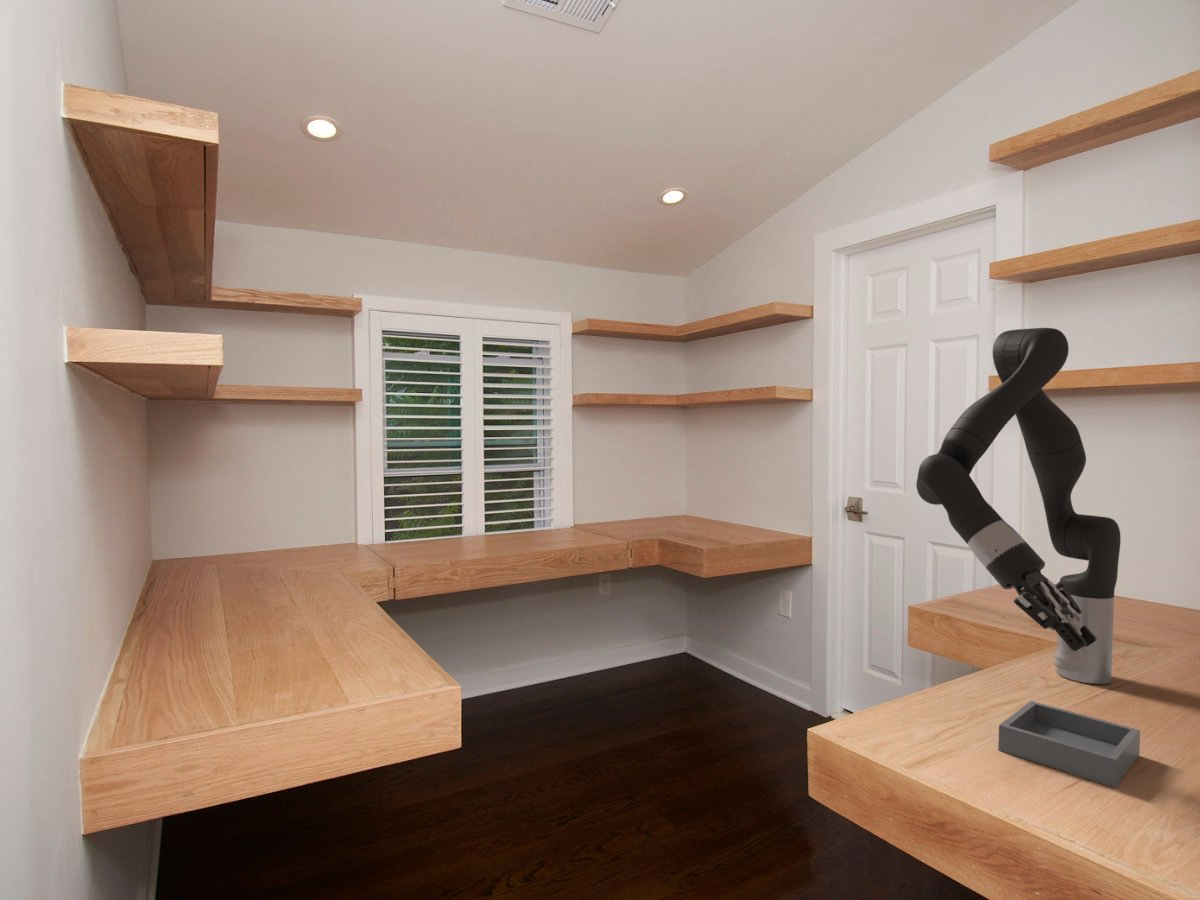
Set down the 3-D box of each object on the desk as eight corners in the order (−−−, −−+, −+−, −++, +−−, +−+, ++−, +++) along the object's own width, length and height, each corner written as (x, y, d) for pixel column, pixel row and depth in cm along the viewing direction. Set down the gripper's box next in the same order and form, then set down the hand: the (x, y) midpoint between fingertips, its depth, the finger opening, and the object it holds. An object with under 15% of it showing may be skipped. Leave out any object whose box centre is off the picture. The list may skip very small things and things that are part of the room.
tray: (1030, 723, 118) (1030, 700, 118) (1139, 755, 107) (1140, 730, 107) (998, 750, 108) (999, 725, 108) (1115, 788, 97) (1115, 760, 97)
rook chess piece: (1045, 664, 109) (1047, 614, 109) (1065, 661, 110) (1067, 611, 110) (1074, 673, 105) (1076, 621, 104) (1094, 670, 106) (1096, 619, 106)
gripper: (1002, 544, 109) (1088, 641, 99) (1041, 537, 117) (1124, 625, 108) (966, 571, 113) (1046, 666, 104) (1007, 562, 122) (1084, 650, 112)
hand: (1085, 645), depth 106 cm, fingers closed on rook chess piece, 3 cm apart
